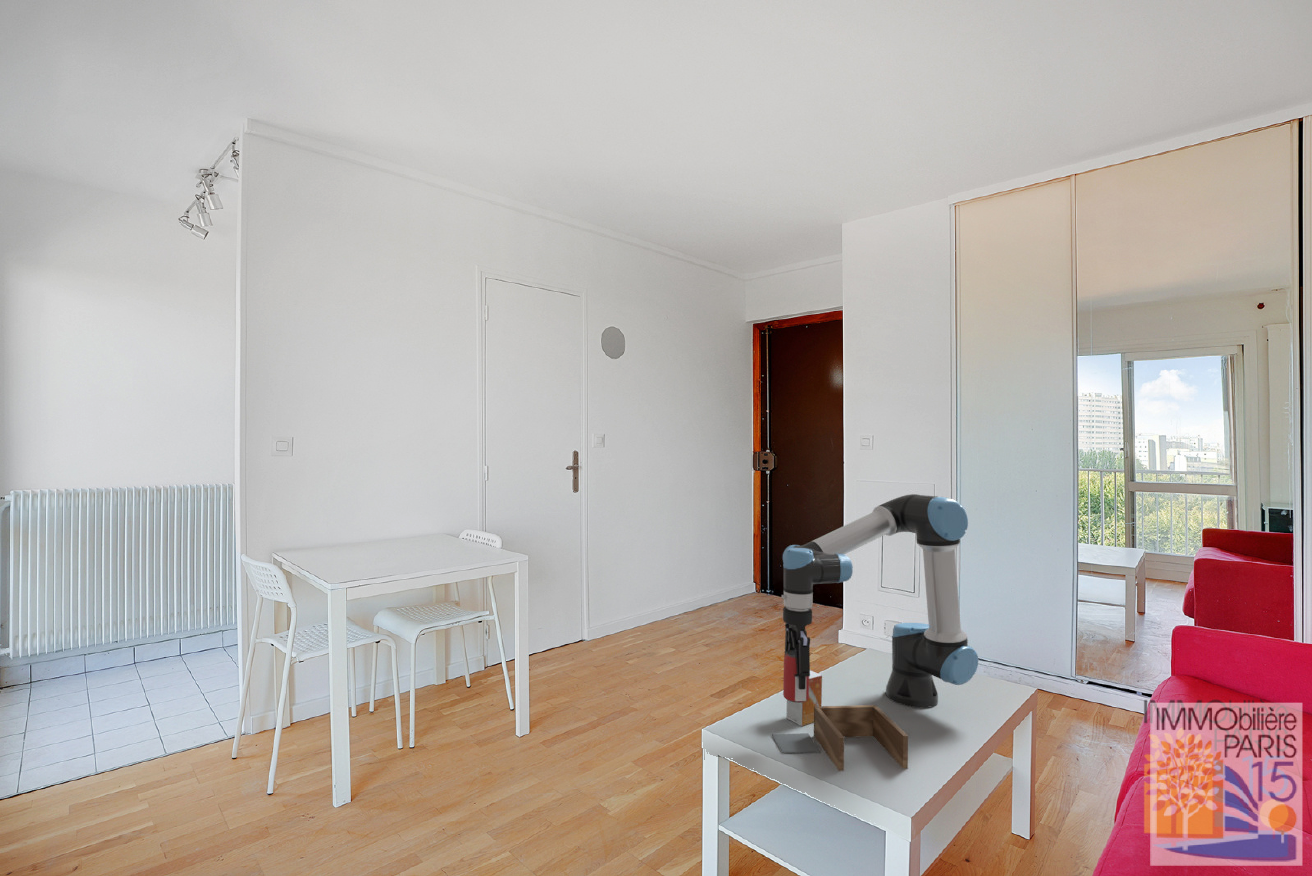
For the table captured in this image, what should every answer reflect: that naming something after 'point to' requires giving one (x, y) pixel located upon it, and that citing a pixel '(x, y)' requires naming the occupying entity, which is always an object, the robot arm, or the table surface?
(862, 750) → the table surface
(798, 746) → the place mat
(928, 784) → the table surface
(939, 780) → the table surface
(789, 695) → the beer can
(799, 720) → the small box
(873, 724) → the open wooden enclosure
